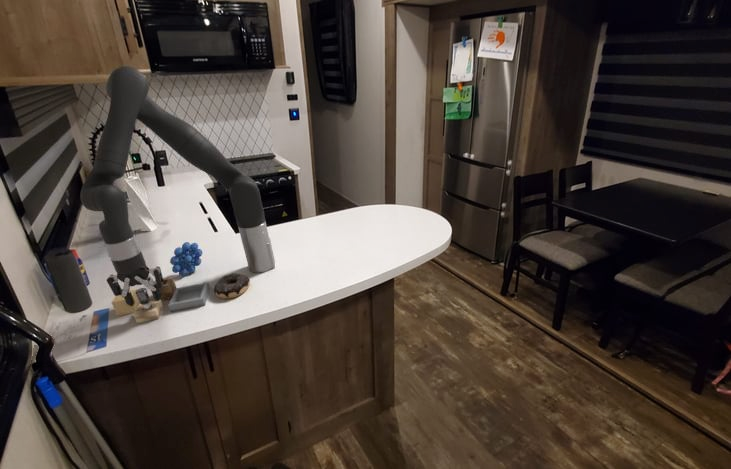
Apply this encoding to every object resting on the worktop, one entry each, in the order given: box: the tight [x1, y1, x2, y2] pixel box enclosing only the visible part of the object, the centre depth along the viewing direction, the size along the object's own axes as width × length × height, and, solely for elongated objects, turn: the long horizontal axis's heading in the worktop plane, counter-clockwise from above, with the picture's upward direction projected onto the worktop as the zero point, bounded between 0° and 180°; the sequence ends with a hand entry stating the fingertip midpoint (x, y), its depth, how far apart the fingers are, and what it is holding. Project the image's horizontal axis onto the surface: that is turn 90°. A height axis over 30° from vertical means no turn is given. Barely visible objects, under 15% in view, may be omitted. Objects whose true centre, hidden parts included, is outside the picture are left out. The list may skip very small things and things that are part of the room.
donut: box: [213, 273, 251, 300], centre depth 122 cm, size 11×12×4 cm
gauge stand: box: [133, 300, 164, 324], centre depth 113 cm, size 6×6×3 cm
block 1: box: [111, 289, 140, 316], centre depth 117 cm, size 6×6×5 cm
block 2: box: [149, 276, 177, 302], centre depth 122 cm, size 6×6×5 cm
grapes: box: [169, 241, 203, 277], centre depth 134 cm, size 12×7×12 cm, turn 136°
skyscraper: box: [123, 172, 159, 232], centre depth 175 cm, size 8×8×28 cm
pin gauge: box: [135, 287, 151, 310], centre depth 112 cm, size 3×3×9 cm
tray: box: [168, 282, 211, 313], centre depth 119 cm, size 10×10×2 cm
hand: (145, 302), depth 112 cm, fingers open, 6 cm apart
